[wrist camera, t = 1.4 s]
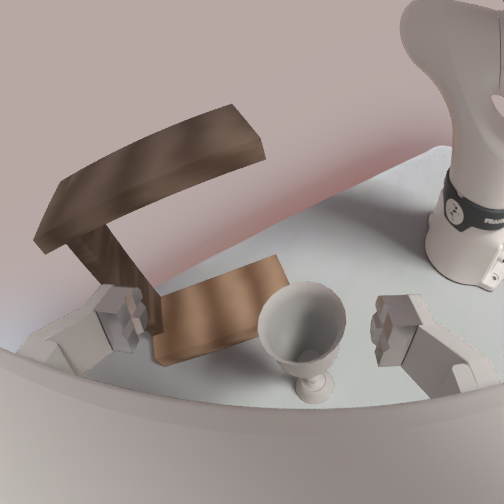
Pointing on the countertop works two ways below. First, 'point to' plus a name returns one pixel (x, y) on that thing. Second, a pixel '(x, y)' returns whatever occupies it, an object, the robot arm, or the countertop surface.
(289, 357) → the chalice
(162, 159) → the wooden c-shaped stand
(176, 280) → the countertop surface
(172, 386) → the countertop surface
